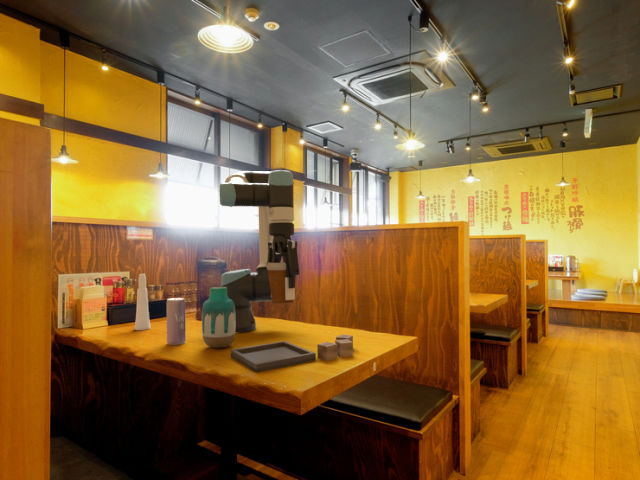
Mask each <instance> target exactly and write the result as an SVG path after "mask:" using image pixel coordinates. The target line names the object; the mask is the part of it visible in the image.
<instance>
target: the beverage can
mask: <svg viewBox="0 0 640 480" xmlns="http://www.w3.org/2000/svg"><path fill="white" fill-rule="evenodd" d="M186 328H187V327H186V299H185V298H184V297H171V298H167V299H166V344H167V345H168V346H179V345H183V344H185V342H186V341H187V339H186V332H187V331H186Z"/></svg>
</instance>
